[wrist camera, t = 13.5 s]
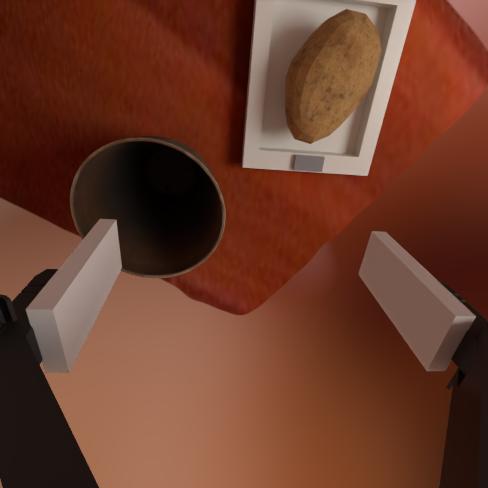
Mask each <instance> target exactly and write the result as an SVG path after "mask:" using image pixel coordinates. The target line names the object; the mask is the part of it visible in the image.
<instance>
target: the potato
mask: <svg viewBox="0 0 488 488" xmlns="http://www.w3.org/2000/svg"><path fill="white" fill-rule="evenodd" d="M381 50H382V49H381V44H380V39H379V34H378V30H377V29H376V27H375V26H374V24H373V23H372V22H371V20H370V19H369V17H368V16H367V15H366V14H364V13H360V12H357V11H353V10H349V9H345V10H343V11H341V12H339V13H338V14H336V15H334V16H332V17H330V18H328V19H327V20H326V21H324V22H323V23H322V24H321V25H320V26H319V27H318V28H317V29H316V30H315V31H314V32H313V33H312V34H311V35H310V36H309V38H308V39H307V40H306V42H305V43H304V44H303V46H302V47H301V48H300V50H299V51H298V53H297V54H296V55H295V57H294V58H293V59H292V61H291V63H290V66H289V69H288V72H287V74H286V80H285V113H286V120H287V126H288V128H289V130H290V132H291V134H292V136H293V137H294V139H295V140H299V141H302V142H305V143H308V144H311V143H314V142H316V141H318V140H320V139H322V138H325V137H327V136H329V135H331V134H332V133H333V132H334V131H335V130H336V129H337V128H338V127H339V126H340V125H341V124H342V123H343V122H344V121H345V120H346V119H347V118H348V117H349V116H350V114H351V113H352V112H353V111H354V110H355V108H356V107H357V106H358V105H359V103H360V102H361V101H362V100H363V98H364V96H365V95H366V93H367V91H368V90H369V88H370V86H371V85H372V81H373V78H374V75H375V72H376V69H377V65H378V62H379V58H380V54H381Z"/></svg>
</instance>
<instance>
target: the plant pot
mask: <svg viewBox="0 0 488 488" xmlns="http://www.w3.org/2000/svg"><path fill="white" fill-rule="evenodd" d="M157 157H159V158H160V159H158V161H157V159H156V158H157ZM187 166H190V167H191V169H190V170H187ZM166 187H170V190H167V189H166ZM70 208H71V214H72V218H73V221H74V224H75V226H76V229H77V231H78V233H79V234H80V236H81V238H82V239H84V238H85V236H86V235H87V234H88V233H89V232H90V230H91V229H92V228H93V227H94V225H95V224H96V223H97V222H98V221H99V219H113V220H116V221H117V230H118V238H119V246H120V255H121V263H122V268H121V271H123V272H126V273H128V274H132V275H136V276H140V277H146V278H167V277H173V276H177V275H180V274H183V273H186V272H189V271H191V270H192V269H194V268H196V267H198V266H199V265H200V264H202V263H203V262H204V261H205V260H207V259H208V258H209V257H210V255H211V254H212V253H213V252H214V251H215V249H216V247H217V246H218V244H219V242H220V240H221V238H222V235H223V232H224V227H225V218H226V214H225V205H224V200H223V196H222V194H221V191H220V188H219V186H218V184H217V182H216V180H215V177H214V175H213V174H212V172H211V170H210V168H209V167H208V165H207V164H206V163H205V162H204V160H203V159H202V158H201V157H200V156H199V155H198V154H197V153H196V152H195V151H194V150H192V149H191V148H189V147H188V146H186V145H185V144H183V143H181V142H179V141H176V140H173V139H169V138H165V137H157V136H143V137H134V138H127V139H121V140H118V141H114V142H111V143H109V144H107V145H104V146H102V147H101V148H99V149H97V150H96V151H94V152H93V153H92V154H91V155H90V156H89V157H88V158H87V159H86V160H85V161H84V162H83V163H82V164H81V166H80V167H79V169H78V171H77V172H76V175H75V177H74V179H73V183H72V186H71V192H70Z"/></svg>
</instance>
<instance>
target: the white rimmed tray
mask: <svg viewBox="0 0 488 488" xmlns="http://www.w3.org/2000/svg"><path fill="white" fill-rule="evenodd" d="M415 3H416V0H254V13H253V25H252V38H251V50H250V62H249V75H248V87H247V100H246V112H245V124H244V137H243V149H242V162H241V163H242V167H243V168H257V169H272V170H287V171H302V172H317V173H333V174H348V175H363V176H368V172H369V168H370V165H371V161H372V158H373V154H374V150H375V147H376V143H377V140H378V136H379V132H380V129H381V125H382V122H383V118H384V114H385V111H386V107H387V104H388V100H389V96H390V93H391V89H392V86H393V82H394V78H395V75H396V71H397V68H398V64H399V60H400V57H401V53H402V50H403V46H404V42H405V39H406V35H407V32H408V28H409V24H410V21H411V17H412V14H413V10H414V6H415ZM345 9H349V10H353V11H357V12H360V13H364V14H366V15H367V16H368V17H369V19H370V20H371V22H372V23H373V24H374V26H375V27H376V29H377V30H378V34H379V39H380V44H381V49H382V50H381V54H380V58H379V62H378V65H377V69H376V72H375V75H374V78H373V81H372V85H371V86H370V88H369V90H368V91H367V93H366V95H365V96H364V98H363V100H362V101H361V102H360V103H359V105H358V106H357V107H356V108H355V110H354V111H353V112H352V113H351V114H350V116H349V117H348V118H347V119H346V120H345V121H344V122H343V123H342V124H341V125H340V126H339V127H338V128H337V129H336V130H335V131H334V132H333V133H332V134H331V135H329V136H327V137H325V138H322V139H320V140H318V141H316V142H314V143H311V144H308V143H305V142H302V141H299V140H295V139H294V137H293V136H292V134H291V132H290V130H289V128H288V126H287V120H286V113H285V80H286V74H287V72H288V69H289V66H290V63H291V61H292V59H293V58H294V57H295V55H296V54H297V53H298V51H299V50H300V48H301V47H302V46H303V44H304V43H305V42H306V40H307V39H308V38H309V36H310V35H311V34H312V33H313V32H314V31H315V30H316V29H317V28H318V27H319V26H320V25H321V24H322V23H323V22H324V21H326V20H327V19H328V18H330V17H332V16H334V15H336V14H338V13H339V12H341V11H343V10H345Z"/></svg>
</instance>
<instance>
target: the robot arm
mask: <svg viewBox="0 0 488 488" xmlns="http://www.w3.org/2000/svg"><path fill="white" fill-rule="evenodd" d="M121 268H122V263H121V255H120V246H119V238H118V230H117V221H116V220H113V219H99V221H98V222H97V223H96V224H95V225H94V227H93V228H92V229H91V230H90V232H89V233H88V234H87V235H86V236H85V238H84V239H83V240H82V241H81V243H80V244H79V245H78V246H77V247H76V249H75V250H74V251H73V252H72V254H71V255H70V256H69V257H68V258H67V260H66V261H65V262H64V263H63V264H62V266H61V267H60V268H59V269H46V270H45V271H43V272H41V273H40V274H38V275H36V276H35V277H34V278H33V279H32V280H31V281H30V282H29V284H28V286H26V287H25V288H24V289H23V290H22V291H21V293H19V295H18V296H17V297H16V298H15V299H14V300H13V301H12V302H11V300H10V298H9V297H7V296H5V295H0V479H1V483H2V486H3V488H99V487H98V485H97V483H96V481H95V478H94V476H93V474H92V472H91V470H90V468H89V466H88V464H87V462H86V460H85V458H84V456H83V454H82V452H81V450H80V448H79V446H78V443H77V441H76V439H75V437H74V435H73V433H72V431H71V429H70V427H69V425H68V423H67V421H66V419H65V417H64V415H63V412H62V411H61V408H60V406H59V404H58V402H57V400H56V398H55V396H54V394H53V392H52V390H51V388H50V386H49V384H48V382H47V380H46V378H45V375H44V373H43V371H42V369H41V367H40V363H41V361H42V363H43V366H44V369H45V372H46V373H56V372H57V373H61V372H62V373H66V372H67V373H69V372H70V370H71V368H72V366H73V364H74V362H75V360H76V358H77V356H78V354H79V352H80V350H81V348H82V346H83V344H84V342H85V340H86V338H87V336H88V334H89V332H90V330H91V328H92V326H93V324H94V322H95V320H96V318H97V316H98V314H99V312H100V310H101V308H102V306H103V304H104V302H105V300H106V298H107V296H108V294H109V292H110V290H111V288H112V286H113V284H114V282H115V280H116V278H117V276H118V274H119V272H120V270H121ZM359 276H360V277H361V279H362V280H363V281H364V283H365V284H366V286H367V287H368V288H369V290H370V291H371V293H372V294H373V296H374V297H375V298H376V300H377V301H378V303H379V304H380V305H381V307H382V308H383V310H384V311H385V312H386V314H387V315H388V317H389V318H390V320H391V321H392V322H393V324H394V325H395V327H396V328H397V330H398V331H399V332H400V334H401V335H402V336H403V338H404V339H405V341H406V342H407V344H408V345H409V346H410V348H411V349H412V350H413V352H414V354H415V355H416V356H417V358H418V359H419V360H420V362H421V363H422V365H423V366H424V368H425V369H426V371H445V370H446V369H447V367H448V365H449V363H450V362H451V360H453V361H454V363H455V364H456V365H457V366H458V369H457V371H456V372H455V374H454V376H453V377H452V379H451V381H450V382H449V384H448V386H447V387H446V388H448V389H450V388H451V387H452V386H453V387H452V395H451V403H450V410H449V418H448V426H447V433H446V441H445V448H444V456H443V463H442V471H441V478H440V486H439V488H488V321H487V320H486V319H485V318H484V317H483V316H482V315H480V314H479V313H478V312H477V311H476V310H475V309H474V308H473V307H472V306H471V305H469V304H468V303H467V302H465V300H464V299H463V298H462V297H461V296H458V294H457V293H456V292H455V291H454V290H453V289H452V288H451V287H449V286H448V285H446V284H445V283H443V282H441V281H440V280H436V279H435V278H434V277H433V276H432V275H431V274H430V273H429V272H428V271H427V270H426V269H425V268H424V267H422V266H421V265H420V264H419V263H418V262H417V261H416V260H415V259H414V258H413V257H412V256H411V255H410V254H409V253H407V252H406V251H405V250H404V249H403V248H402V247H401V246H400V245H399V244H398V243H397V242H396V241H395V240H394V239H392V238H391V237H390V236H389V235H388V234H387V233H386V232H375V231H372V233H371V237H370V239H369V242H368V246H367V249H366V252H365V255H364V259H363V262H362V265H361V268H360V271H359Z"/></svg>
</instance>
